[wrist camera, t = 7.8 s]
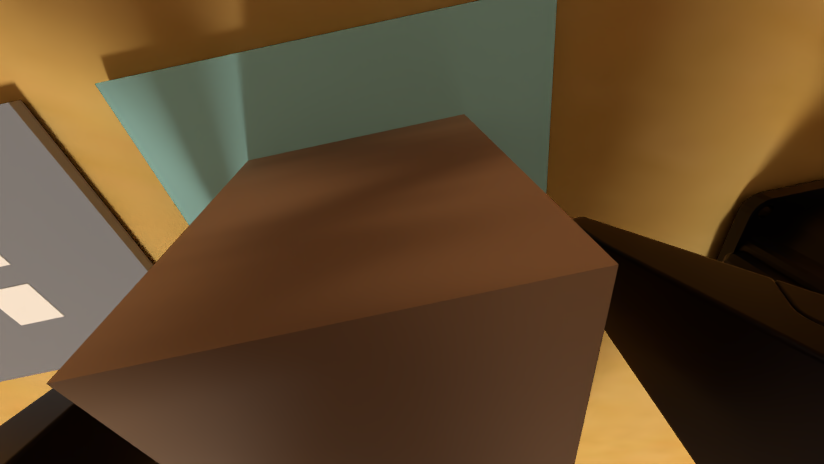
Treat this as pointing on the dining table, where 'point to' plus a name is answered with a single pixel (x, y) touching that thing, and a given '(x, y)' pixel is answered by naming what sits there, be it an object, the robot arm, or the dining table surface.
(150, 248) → the dining table surface
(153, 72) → the teal mat
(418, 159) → the walnut block
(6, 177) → the code tile
